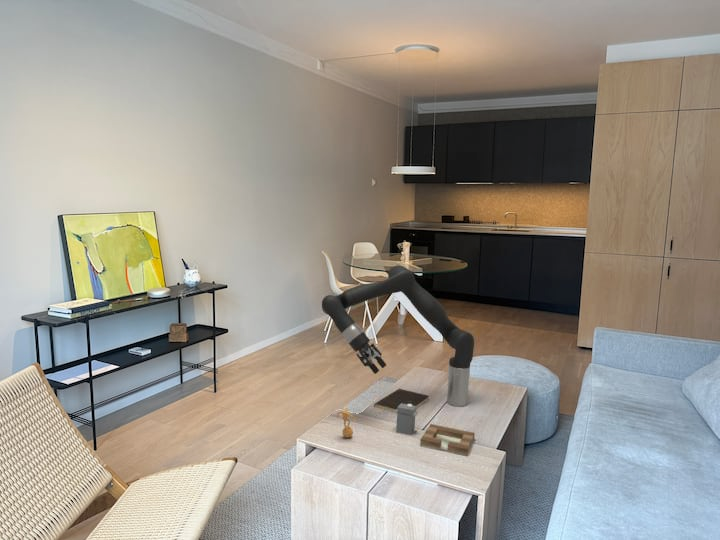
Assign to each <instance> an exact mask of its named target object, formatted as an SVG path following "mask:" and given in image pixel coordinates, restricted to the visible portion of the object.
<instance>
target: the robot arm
mask: <svg viewBox="0 0 720 540" xmlns="http://www.w3.org/2000/svg"><path fill="white" fill-rule="evenodd" d="M387 277H388V278H387V279H384V280H381V281H376V282H370V283H364V284H359V285H356V286H353V287H350V288H348V289H345V290H344V291H342V293H340V294H338V295H336V296H335V295H333V294H328V295H325V296H324V297H323V299H322V301H321V309H322V311H323V313H325V315H328V316H329V318H330V319H331V320H332V321H333V324H334V326H335V327H336V329H338V331H339V332H340V333H341V335H342V336H343V338H344V340H345V341H346V342H347V343H348V345H349V346H350V347H351V348H352V350H353V351H354V352H355V353H356V356H357V358H358V359H359V360H360V362H361V363H362V365H363V366H364V367H368V368H369V369H370V370H371V371H372V372H373V374H375V375H376V374H378V372H379V371H380V369H379V368H378V366H376V364H375V363H374V361H373V360H375V361H376V362H377V364H378V365H379V366H380V367H381V368H382V369H384V368H385V367H386V366H387V364H386V363H387V362H386V361H384V359H383V358H382V355H383V354H382V352H381V351H380V350H379V349H378V347H377V346H376V345H375V344H374V343H371V344H369V342H370V341H371V339H370V338H369V337H368V336H367V334H366V333H365V332H364V331H363V329H362V328H361V327H360V326H359V325H358V324H357V323H356V321H355V320H354V319H353V317H352V316H351V315H350V314H349V313H348V312H347V310H346V309H348V308H351V307H353V306H356V305H359V304H361V303H365V302H367V301H369V300H373V299H375V298H379V297H382V296H386V295H391V294H396V293H402V294H403V295H404V296H405V297H406V298H407V299H408V301H409V302H410V303H411V305H412V306H413V307H414V308H415V309H416V311H417V312H418V313H419V314H420V315H421V316H422V318H424V320H425V321H426V322H428V323H429V325H431V326H432V327H433V328H434V329H435V330H437V332H439V334H440V335H441V336H442V337H443V339H444V340H445V341H446V343H447V344H448V345H449V346H450V348H452V349H454V350H455V351H454V356H452V357H450V358H449V362H448V376H447V388H446V389H447V392H446V403H447V404H448V405H451V406H454V407H464V406H467V405H468V400H469V399H468V398H469V385H470V373H471V371H470V370H471V363H472V361H473V358H474V357H473V356H474V349H475V338H474V335H473V334H472V333H470V332H468V331H466V330H463V329H461V328H460V327H458V326H457V325H456V324H455V323H453V322H452V321H451V319H450V318H449V316H448V313H447V312H446V309H445V308H444V306H443V305H442V304H441V303H440V302H439V301H438V300H437V299H436V298H435V297H434V296H433V295H432V294H431V293H429V291H427V290H426V289H425V288H423V287H422V286H421V285H420V284H419V283H418V282H417V280H416V278H415V275H414V274H413V272H412V271H411V270H409V269H408V268H407V267H406V266H403V265H394V266H391V268H390V269H389V271H388V276H387ZM357 352H358V353H357Z"/></svg>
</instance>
